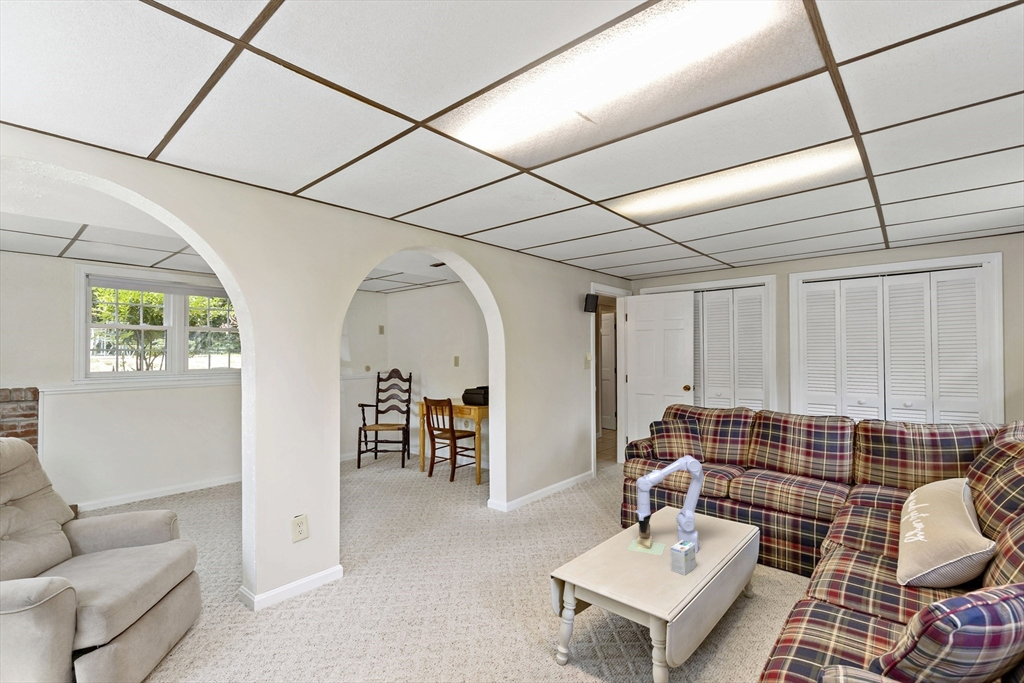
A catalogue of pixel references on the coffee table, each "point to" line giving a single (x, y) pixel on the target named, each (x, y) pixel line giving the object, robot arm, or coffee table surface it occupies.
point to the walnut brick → (646, 532)
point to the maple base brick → (644, 542)
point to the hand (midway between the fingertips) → (644, 530)
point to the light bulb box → (683, 557)
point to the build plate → (655, 549)
